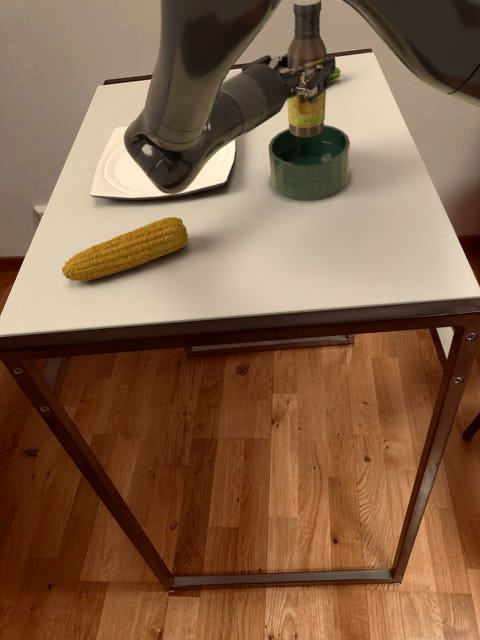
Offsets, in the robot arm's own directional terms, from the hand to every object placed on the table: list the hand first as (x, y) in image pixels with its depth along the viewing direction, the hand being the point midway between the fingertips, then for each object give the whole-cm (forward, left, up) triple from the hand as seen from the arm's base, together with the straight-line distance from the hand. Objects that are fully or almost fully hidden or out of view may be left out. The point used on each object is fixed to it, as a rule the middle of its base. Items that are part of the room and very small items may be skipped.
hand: (315, 59), depth 81 cm
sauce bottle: (+1, +2, -11) cm, 11 cm away
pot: (+1, +2, -21) cm, 21 cm away
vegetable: (+11, -34, -21) cm, 41 cm away
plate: (+31, 0, -21) cm, 37 cm away
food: (+25, +30, -21) cm, 44 cm away
